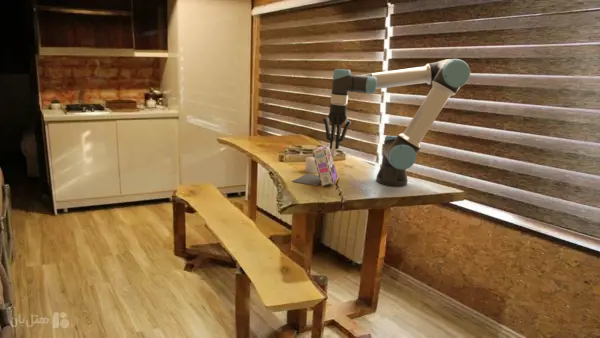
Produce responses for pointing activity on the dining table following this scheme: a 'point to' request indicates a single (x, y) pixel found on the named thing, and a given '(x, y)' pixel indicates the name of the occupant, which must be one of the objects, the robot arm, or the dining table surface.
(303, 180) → the mat
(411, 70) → the robot arm
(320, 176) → the candy box
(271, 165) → the dining table surface
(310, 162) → the cream capsule shape
